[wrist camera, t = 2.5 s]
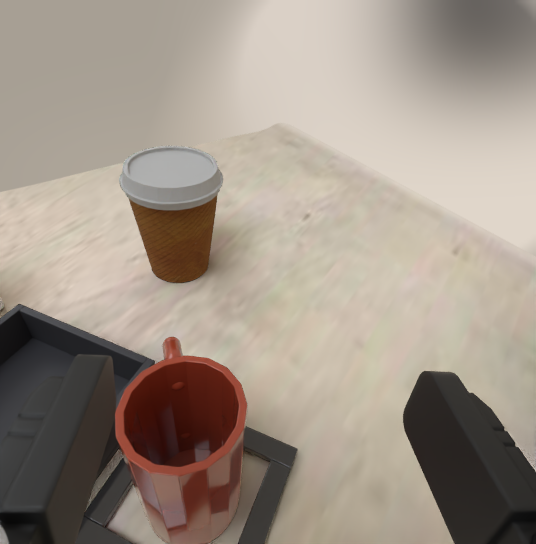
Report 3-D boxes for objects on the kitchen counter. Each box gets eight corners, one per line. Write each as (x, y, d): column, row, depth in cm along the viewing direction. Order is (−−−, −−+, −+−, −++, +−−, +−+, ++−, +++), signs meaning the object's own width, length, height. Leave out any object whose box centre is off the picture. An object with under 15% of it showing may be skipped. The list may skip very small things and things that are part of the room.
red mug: (250, 529, 25) (262, 452, 17) (149, 564, 23) (116, 494, 16) (219, 401, 31) (218, 306, 24) (139, 420, 30) (112, 324, 22)
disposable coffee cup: (161, 306, 38) (145, 202, 31) (122, 256, 44) (100, 155, 36) (239, 272, 43) (243, 174, 35) (195, 230, 49) (190, 137, 41)
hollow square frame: (296, 452, 29) (297, 448, 28) (230, 640, 21) (230, 639, 20) (169, 395, 31) (168, 391, 31) (66, 543, 23) (64, 540, 23)
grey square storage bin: (160, 390, 32) (154, 360, 29) (26, 576, 22) (-1, 557, 19) (34, 335, 35) (19, 303, 32) (-130, 477, 25) (-172, 448, 23)
